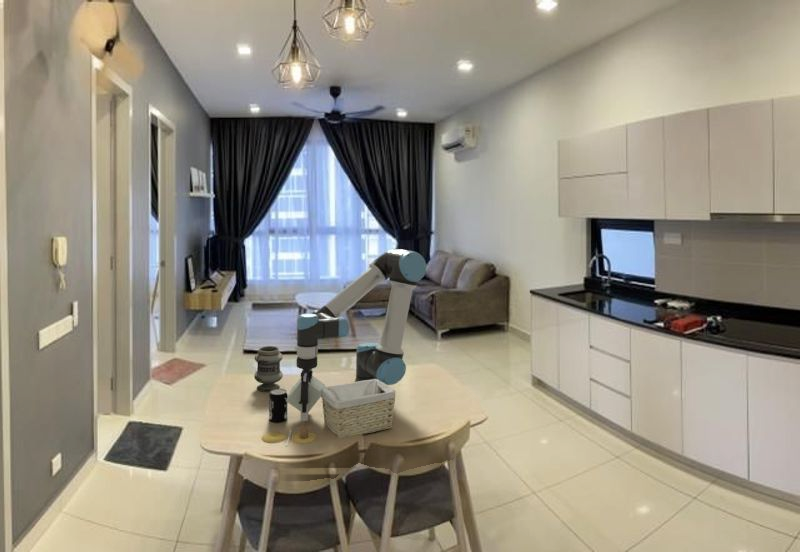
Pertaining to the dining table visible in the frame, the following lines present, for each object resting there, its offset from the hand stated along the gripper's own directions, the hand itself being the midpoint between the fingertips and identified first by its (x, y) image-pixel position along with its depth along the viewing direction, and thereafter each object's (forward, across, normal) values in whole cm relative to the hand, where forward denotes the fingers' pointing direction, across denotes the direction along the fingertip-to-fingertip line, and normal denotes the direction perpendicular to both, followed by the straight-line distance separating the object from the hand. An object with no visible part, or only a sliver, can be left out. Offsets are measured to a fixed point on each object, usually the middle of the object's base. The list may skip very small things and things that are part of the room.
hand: (305, 414), depth 183 cm
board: (+3, +16, -4) cm, 17 cm away
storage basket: (+3, +5, +19) cm, 20 cm away
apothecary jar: (+3, -35, -20) cm, 40 cm away
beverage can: (+3, +1, -10) cm, 11 cm away
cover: (-6, 0, +4) cm, 7 cm away
